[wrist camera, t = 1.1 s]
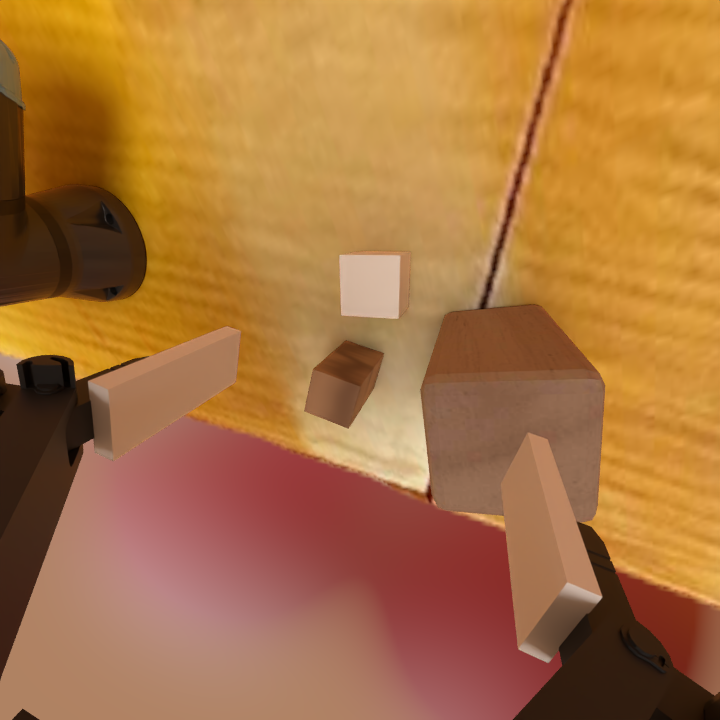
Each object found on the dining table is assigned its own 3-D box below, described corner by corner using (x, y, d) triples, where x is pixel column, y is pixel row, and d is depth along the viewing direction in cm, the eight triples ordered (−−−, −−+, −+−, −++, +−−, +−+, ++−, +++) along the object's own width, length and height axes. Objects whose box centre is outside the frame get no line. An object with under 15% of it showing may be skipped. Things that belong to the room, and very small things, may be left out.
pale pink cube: (358, 304, 42) (341, 315, 36) (357, 251, 40) (339, 254, 34) (408, 306, 40) (398, 318, 35) (410, 251, 38) (400, 255, 33)
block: (542, 391, 39) (602, 531, 21) (449, 393, 42) (431, 515, 24) (543, 301, 36) (612, 375, 18) (442, 310, 39) (416, 381, 21)
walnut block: (337, 375, 46) (304, 411, 37) (346, 340, 44) (313, 369, 35) (373, 388, 45) (348, 428, 36) (384, 353, 43) (360, 386, 34)
